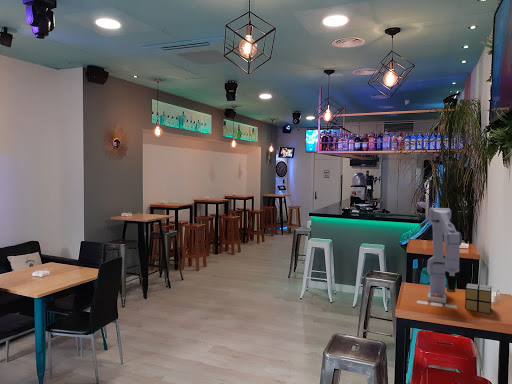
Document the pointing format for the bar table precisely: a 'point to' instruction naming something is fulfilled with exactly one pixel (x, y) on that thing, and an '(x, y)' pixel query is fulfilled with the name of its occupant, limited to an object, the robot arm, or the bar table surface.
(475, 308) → the puzzle cube
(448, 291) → the pawn
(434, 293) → the button
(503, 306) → the bar table surface
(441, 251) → the robot arm
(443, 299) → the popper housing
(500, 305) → the bar table surface
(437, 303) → the board
